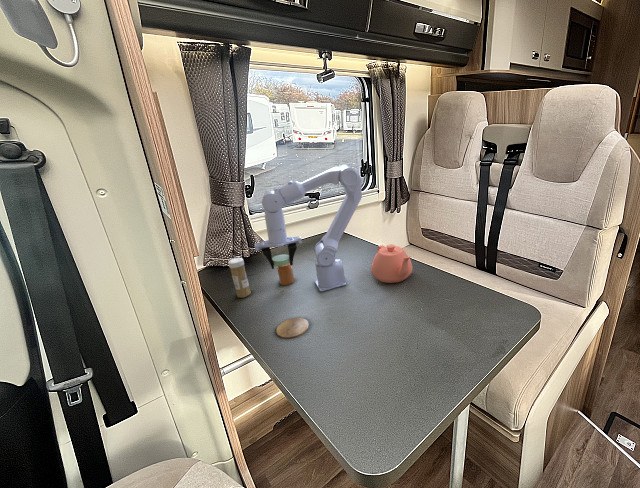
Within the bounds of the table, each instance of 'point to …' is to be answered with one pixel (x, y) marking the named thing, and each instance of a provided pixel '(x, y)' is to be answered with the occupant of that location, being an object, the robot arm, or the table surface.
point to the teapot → (391, 264)
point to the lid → (281, 260)
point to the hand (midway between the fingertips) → (282, 265)
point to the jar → (286, 274)
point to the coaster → (292, 327)
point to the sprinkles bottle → (239, 277)
